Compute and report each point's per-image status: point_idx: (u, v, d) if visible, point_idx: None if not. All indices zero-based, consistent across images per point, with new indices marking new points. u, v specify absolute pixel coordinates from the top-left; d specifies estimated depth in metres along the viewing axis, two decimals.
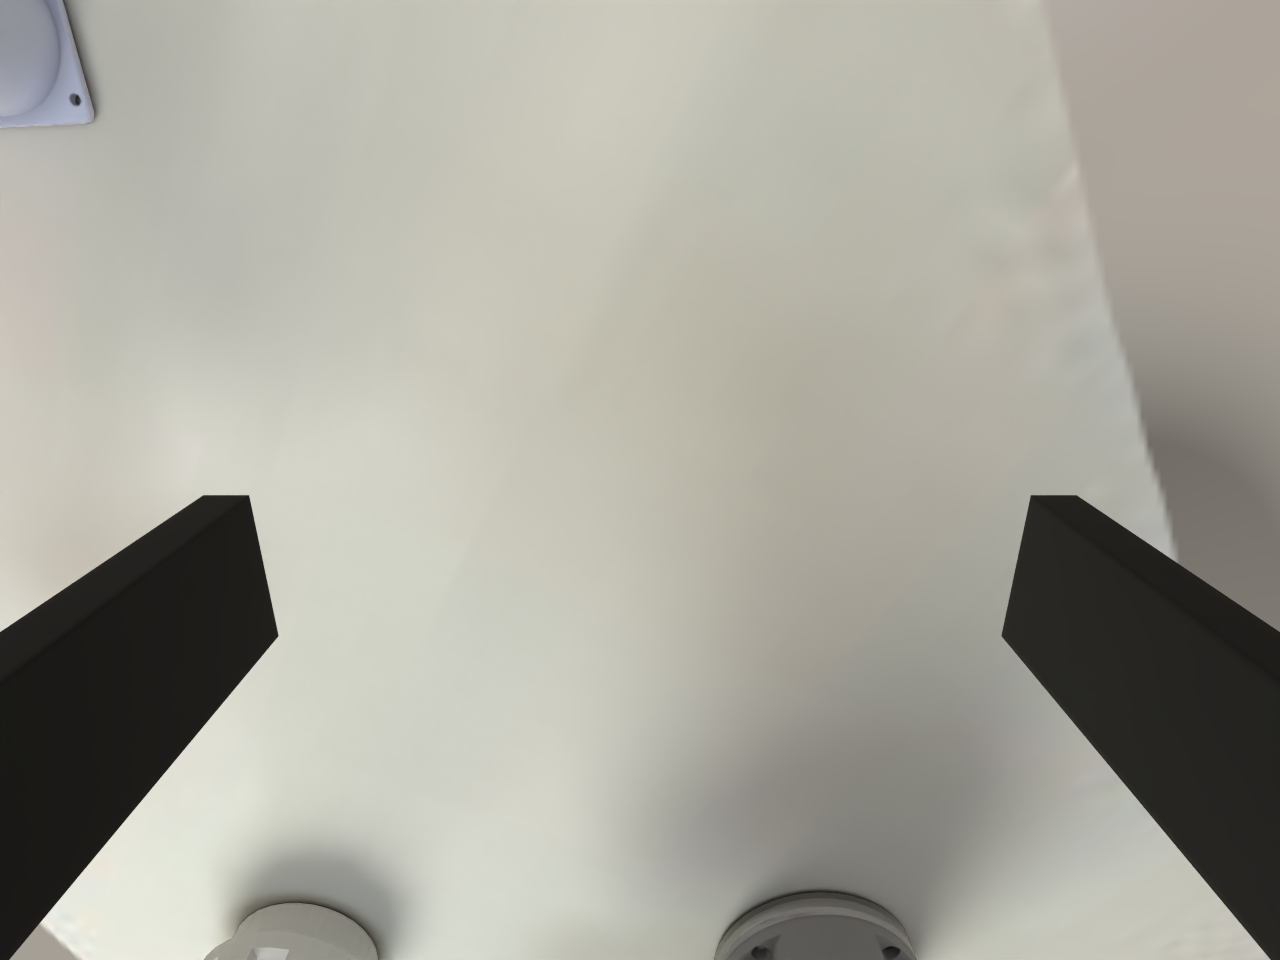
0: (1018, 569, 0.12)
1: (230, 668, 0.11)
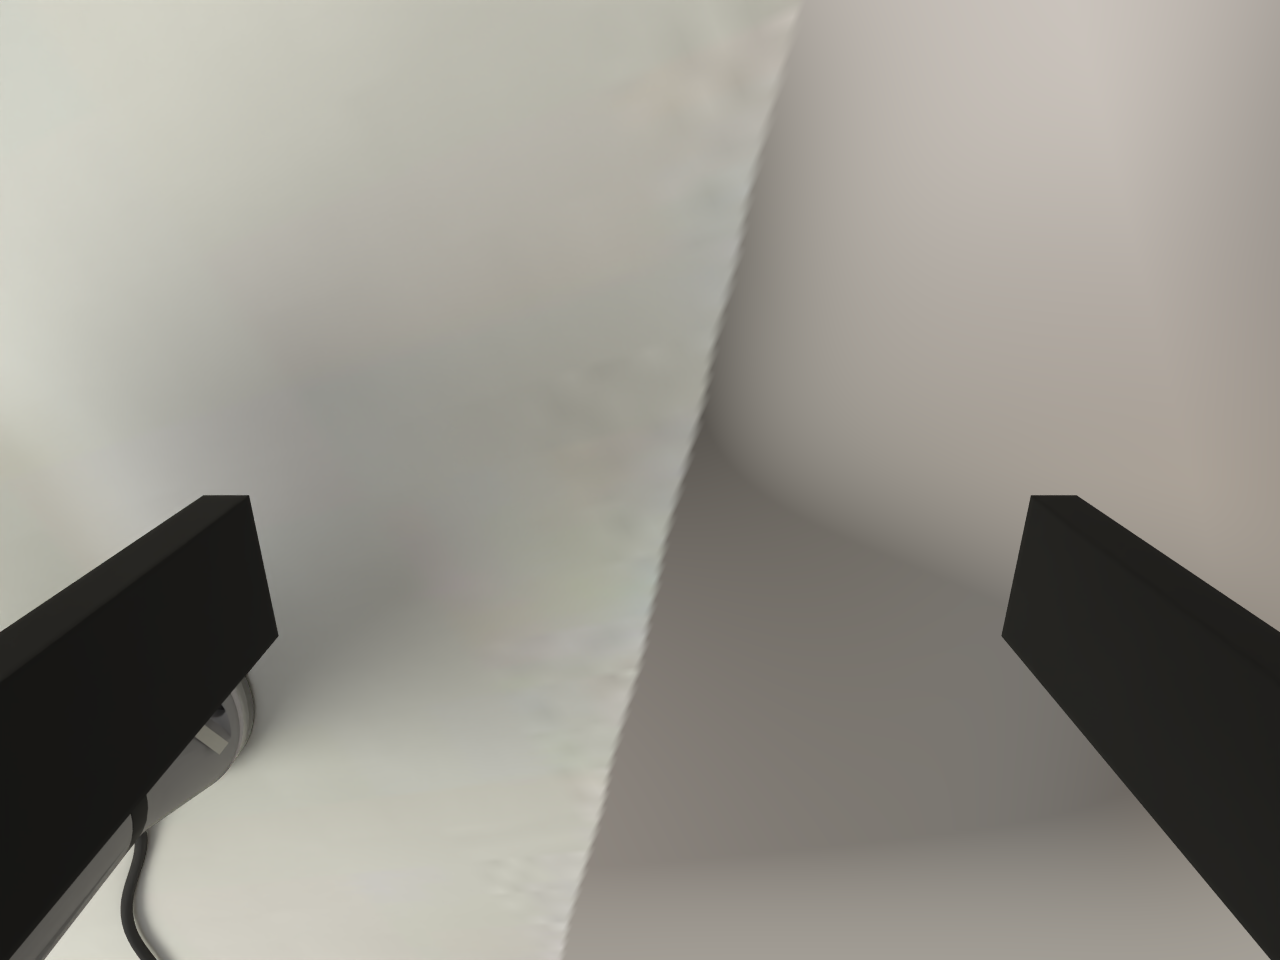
0: (1018, 569, 0.12)
1: (229, 668, 0.11)
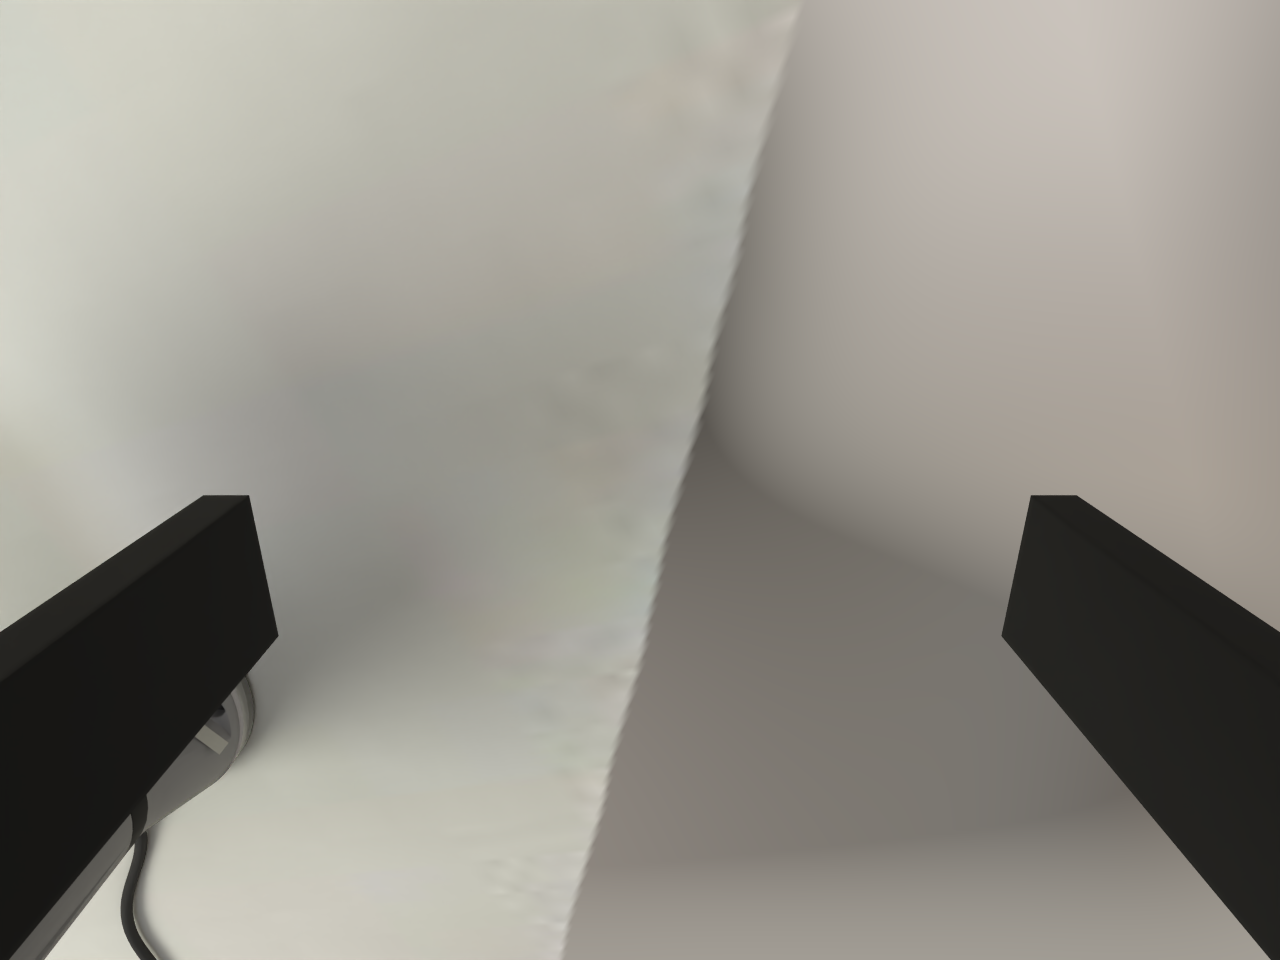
0: (1018, 569, 0.12)
1: (229, 668, 0.11)
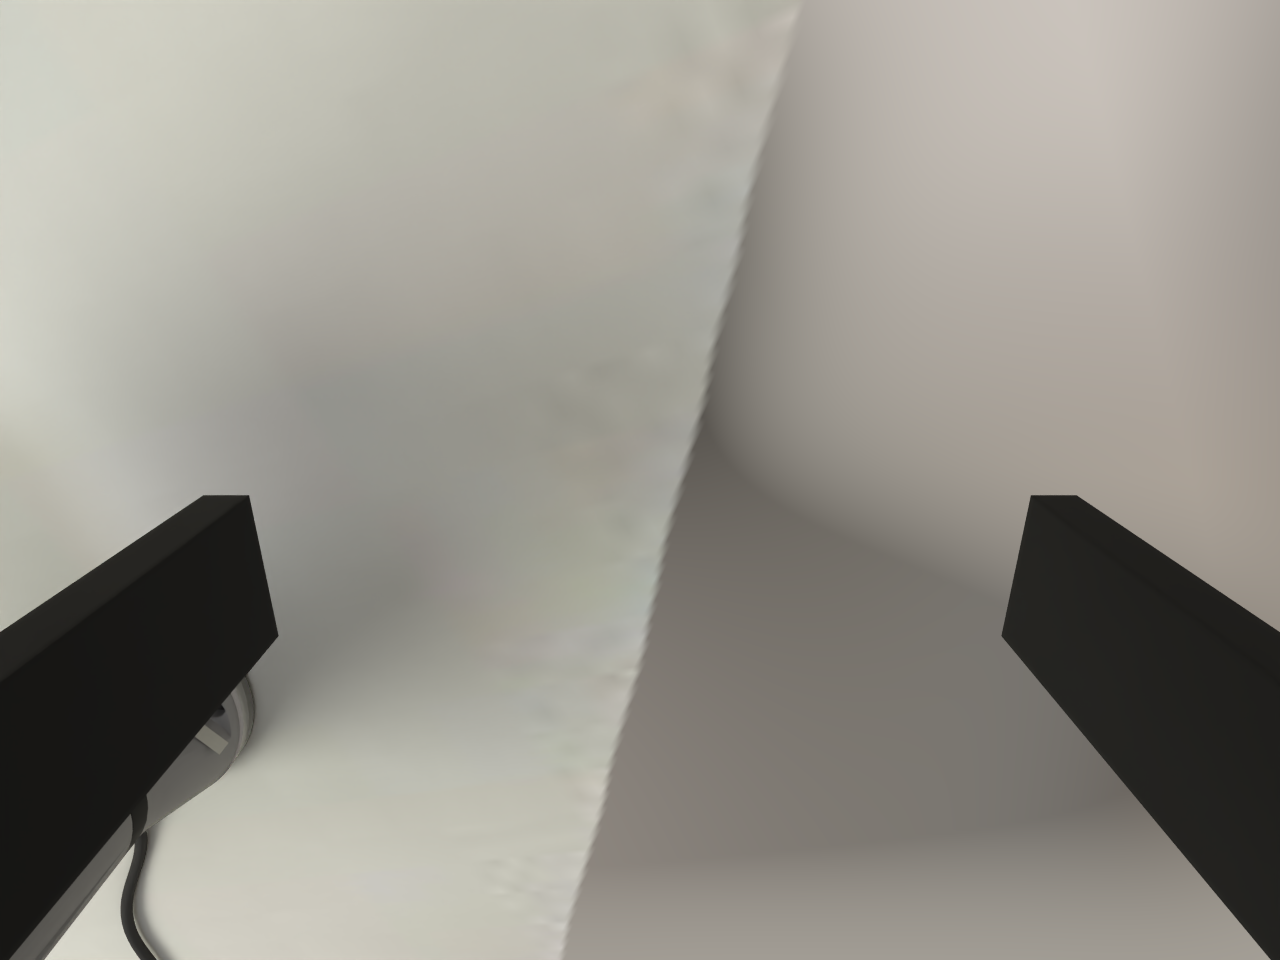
0: (1018, 569, 0.12)
1: (229, 668, 0.11)
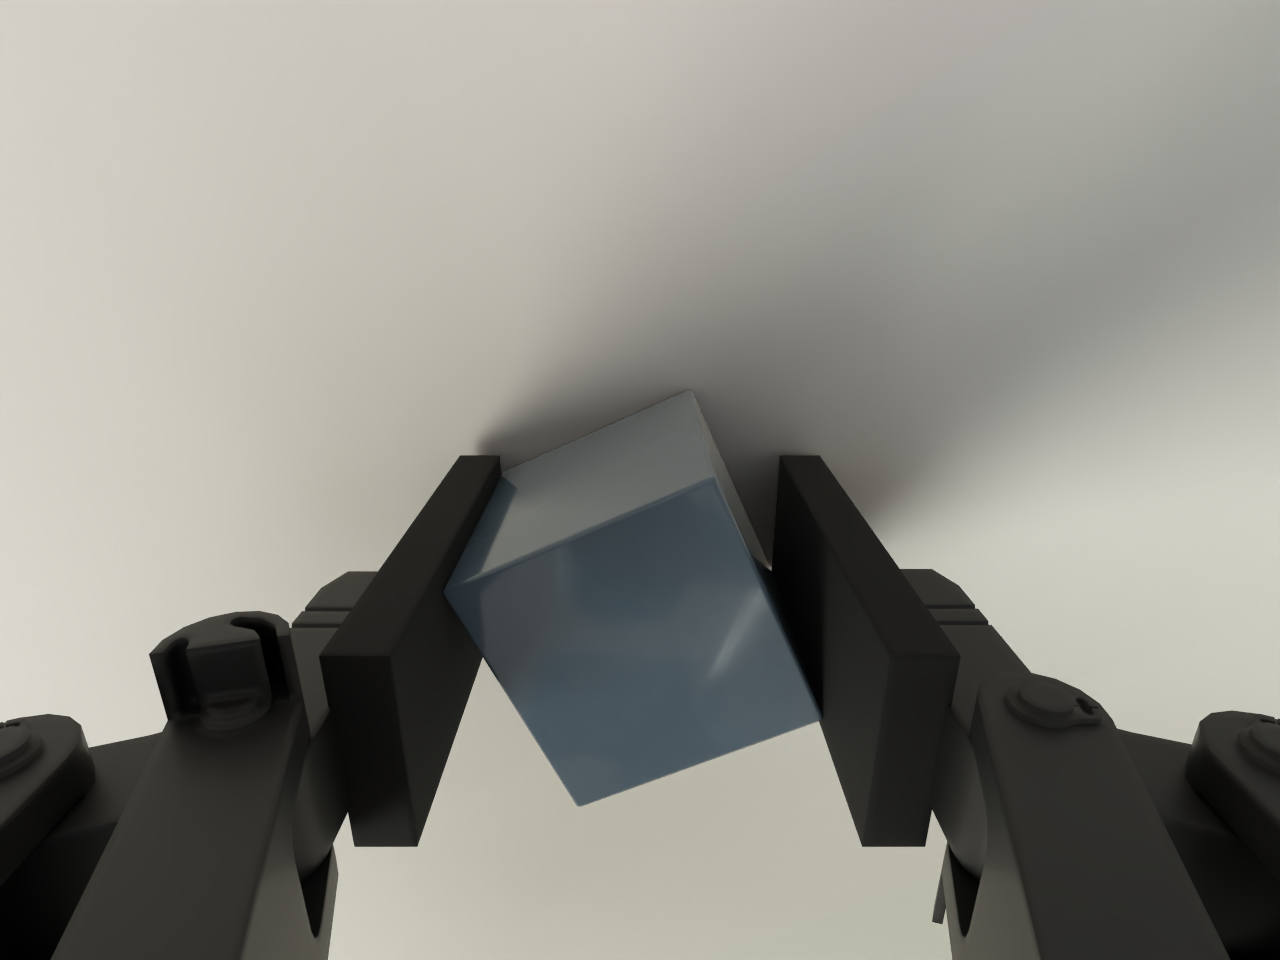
0: (778, 521, 0.14)
1: None
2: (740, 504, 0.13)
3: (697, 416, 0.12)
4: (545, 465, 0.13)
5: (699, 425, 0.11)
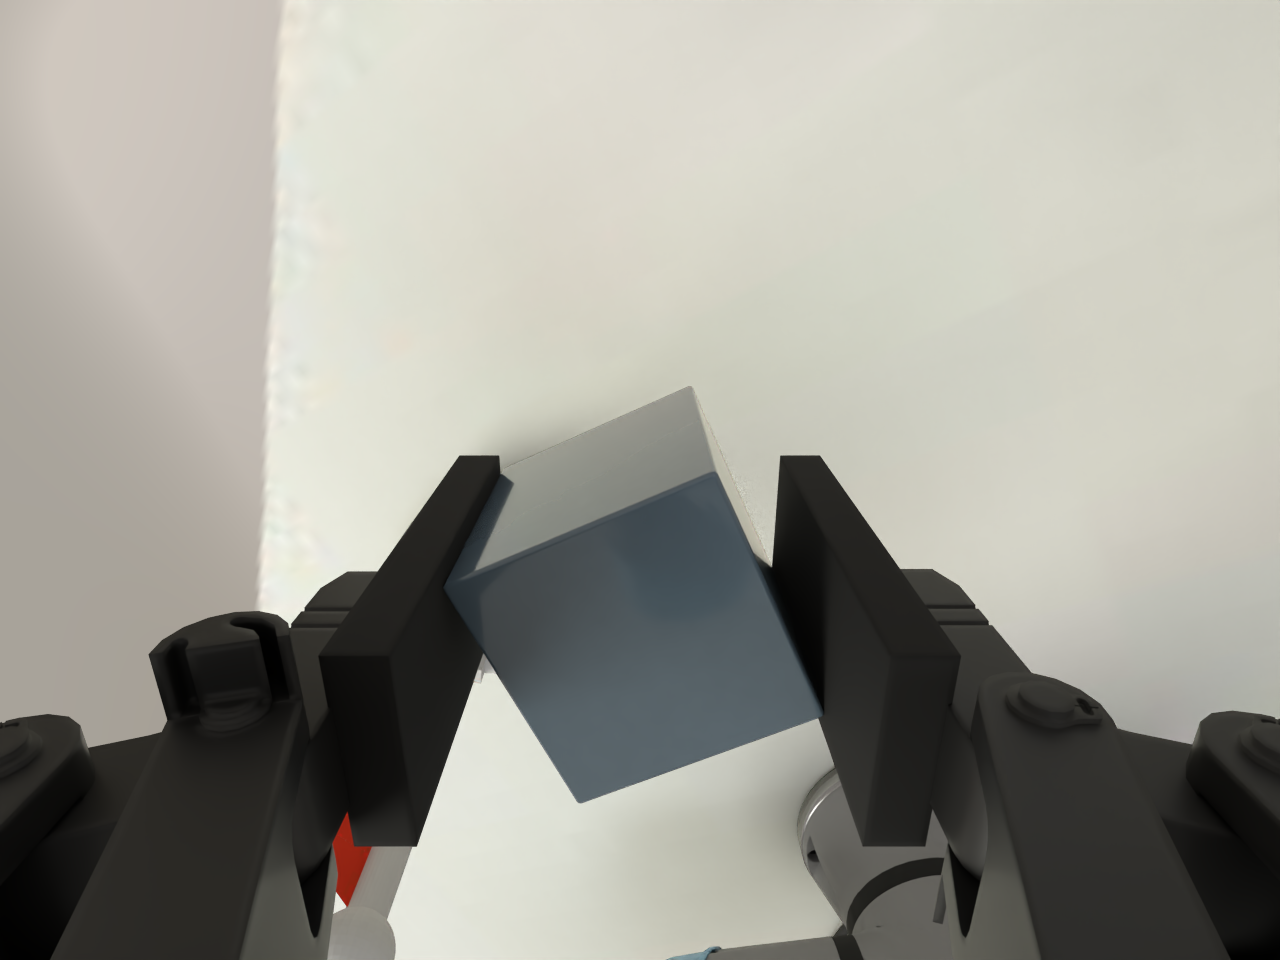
0: (778, 521, 0.14)
1: None
2: (741, 501, 0.13)
3: (698, 412, 0.12)
4: (545, 461, 0.13)
5: (700, 421, 0.11)
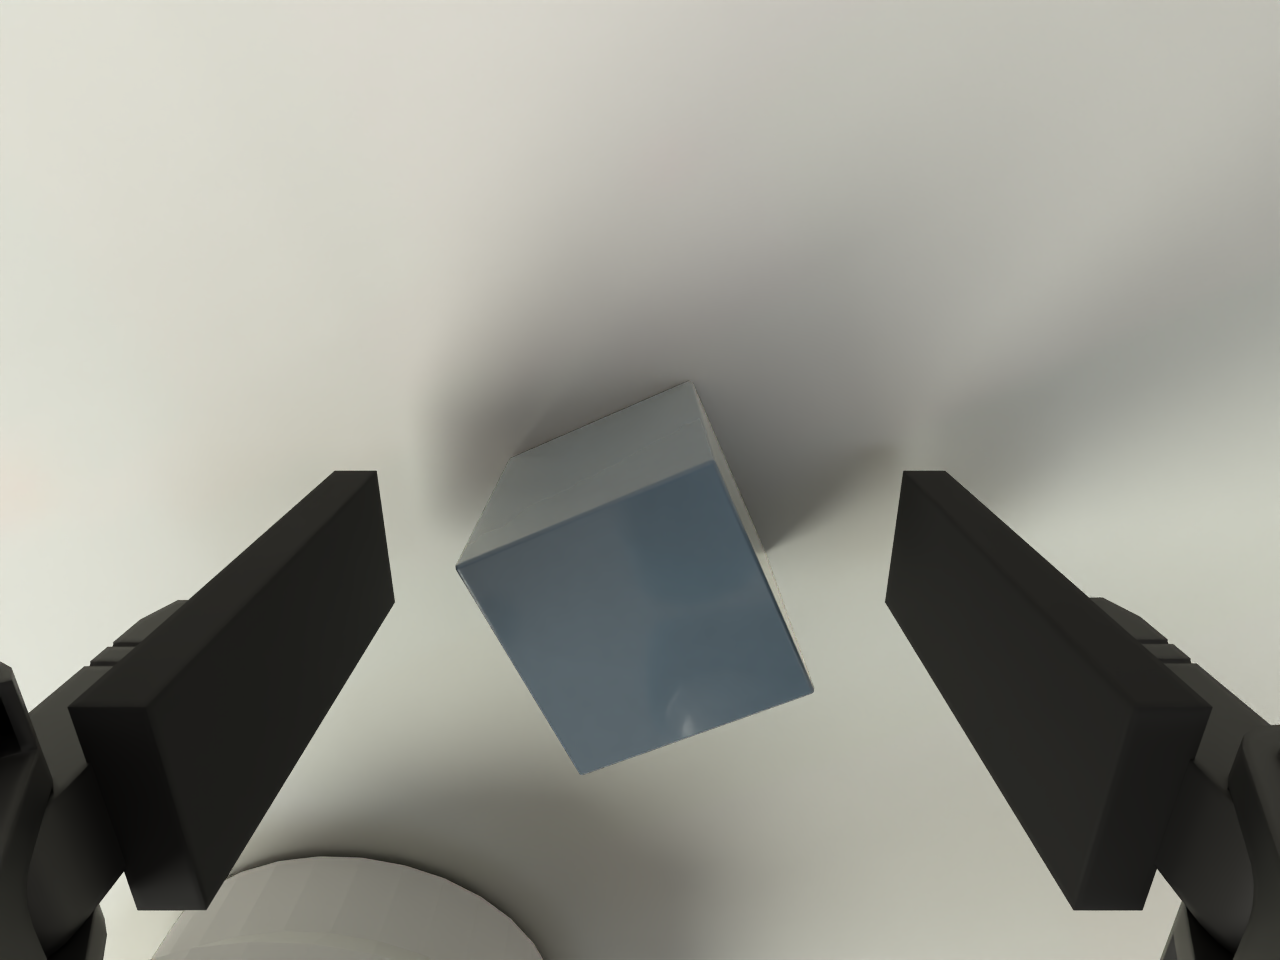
0: (896, 540, 0.13)
1: (365, 627, 0.12)
2: (737, 491, 0.14)
3: (697, 405, 0.12)
4: (551, 451, 0.14)
5: (699, 413, 0.12)
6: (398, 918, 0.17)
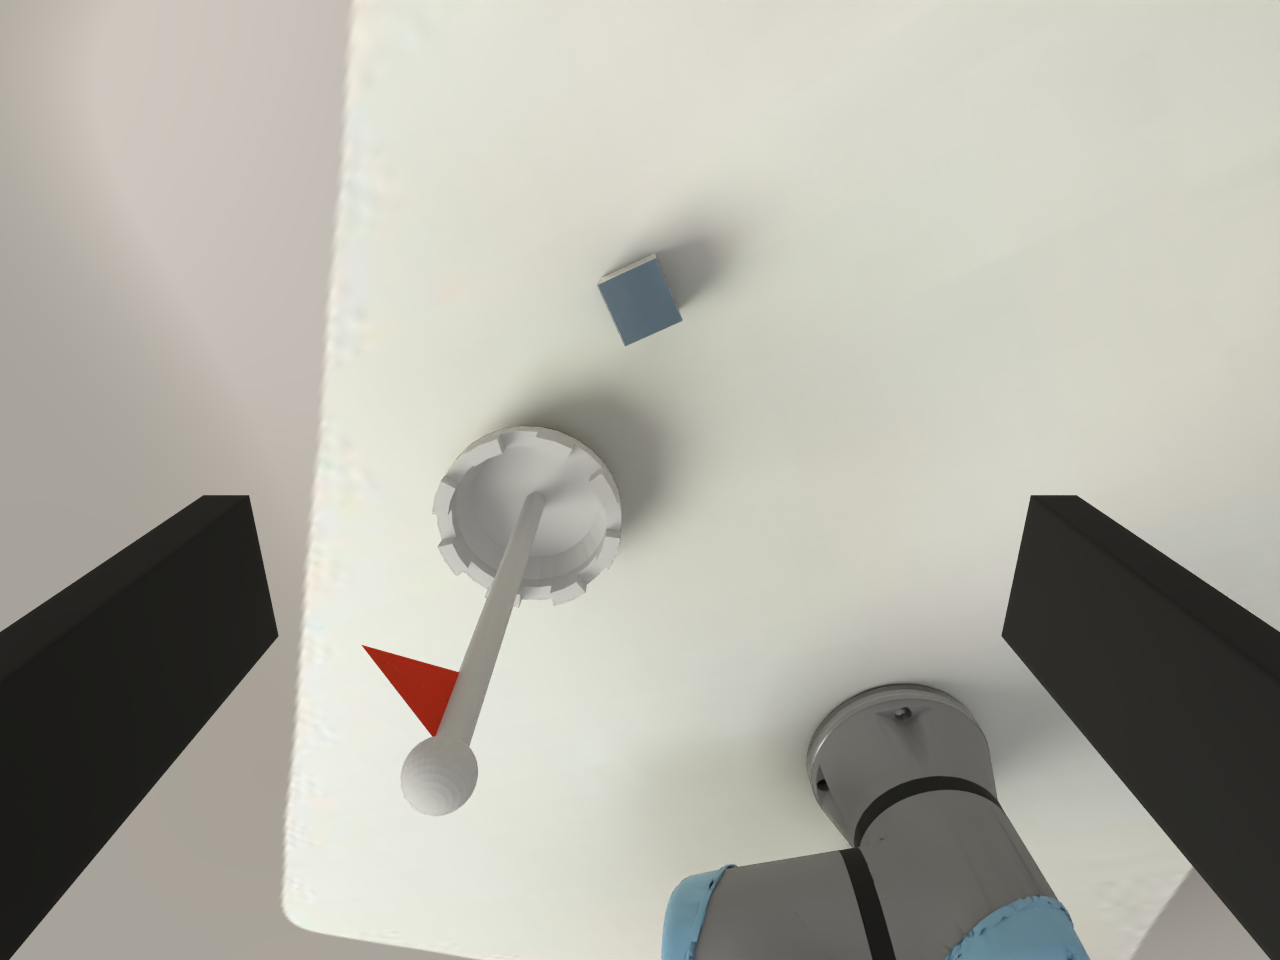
0: (1018, 569, 0.12)
1: (230, 668, 0.11)
2: (667, 284, 0.49)
3: (655, 255, 0.47)
4: (614, 272, 0.48)
5: (655, 255, 0.47)
6: None
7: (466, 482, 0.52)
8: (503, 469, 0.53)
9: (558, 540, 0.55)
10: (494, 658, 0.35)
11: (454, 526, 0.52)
